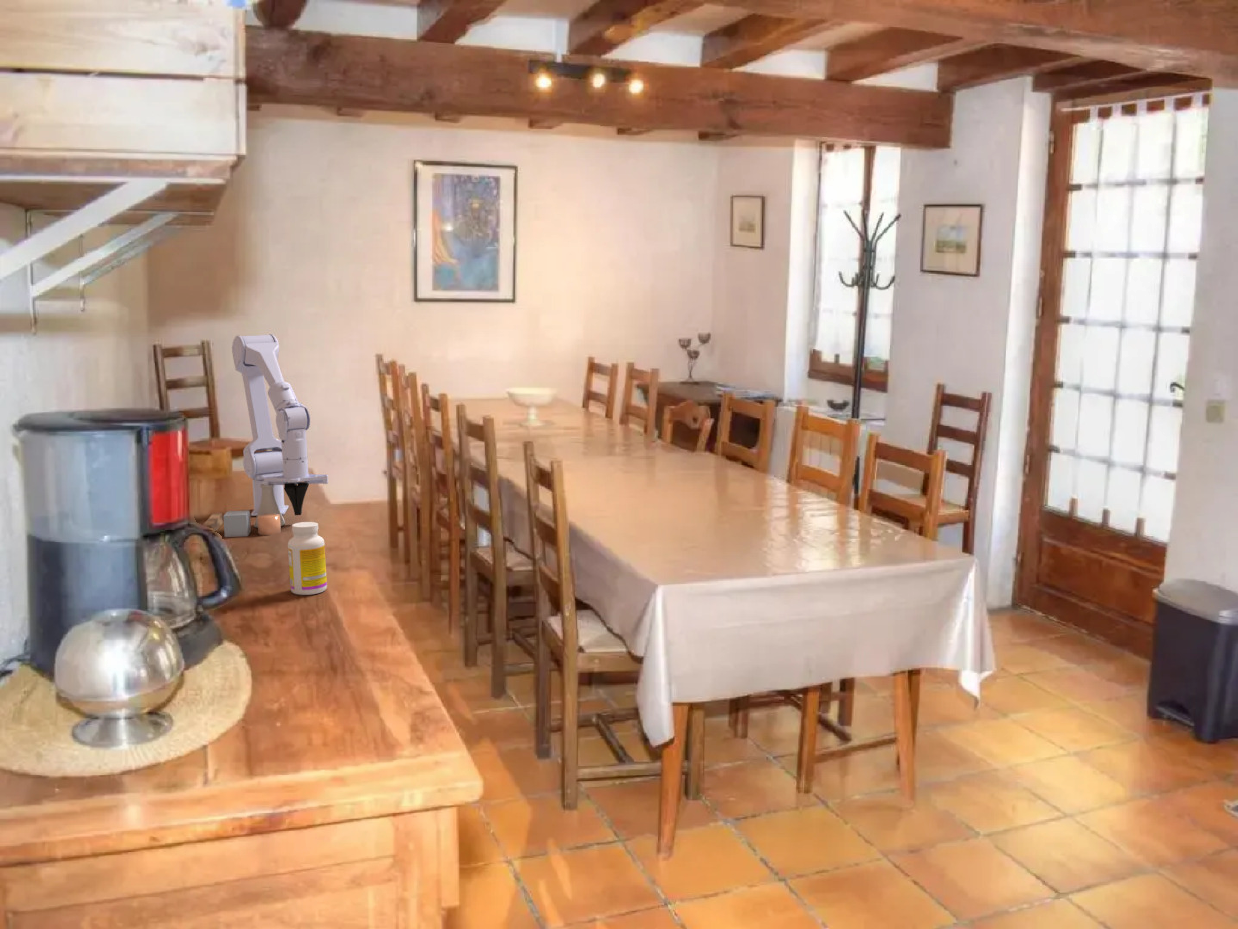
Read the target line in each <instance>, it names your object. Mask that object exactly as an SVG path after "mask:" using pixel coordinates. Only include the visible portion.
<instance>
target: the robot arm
mask: <svg viewBox="0 0 1238 929" xmlns="http://www.w3.org/2000/svg"><path fill="white" fill-rule="evenodd" d="M231 352H232V353H231V354H232V359H233V364H234V368H235V371H236V372H238V373H240V374H241V376H242V381H243V387H244V392H245V398H246V404H247V410H248V411H247V412H248V416H249V422H250V428H251V435H252V439H251V441H250V442H249V443H248V444H246V445H245V447H244V448H243V462H242V463H243V469H244V472H245V474H246V476H248V477H249V479H251V480H252V482H251V483H252V495H253V497H252V498H253V510H252V511H251V512H250V517H253V516H254V517H255V516H256V517H257V514H258V511H259V507H260V503H261V497H262V488H261V487H260V485H261V484H264V485H273V484H274V487H273V492H274V496H275V500H276V503H277V505H278V507H279V510H280V512H281V514H282V516H283V515H285V514H286V512H287V510H288V508H290V507H289V505H287V504H285V494H286V495H287V497H288V499H289V501H290V503H291V506H292V510H293V512H294V515H295V516H302V512H303V511H302V510H303V504H304V500H305V496H306V493H307V491H308V488H309V485H314V484H321V485H322V484H323V485H327V484H328V483H329V474H314V473H312V474H310V473H309V460H308V441H307V440H308V439H307V431H308V430H309V429H310V426H311V415H310V413H309V412H310V411H309V410H308V408H307V406H305V405H304V404H303V403H302V402H299V400H298V398H297V396H296V393H295V391H294V389H293V386H292V385H291V384H290V382H288V381H285V379H284V376H283V374H282V371H281V368H280V364H279V362H278V359H279V353H280V343H279V340H278V337H276V336H275V335H274V334H273V333H270V334H259V335H236V336H235V337H234V338H233V341H232V345H231ZM265 381H266V383H267V384H268V386H269V388H268V389H266V383H265ZM267 395H268V396H267ZM269 399H270V403H271V405H272V407H273V409H274V411H275V413H276V415H275V424H276V428H277V431H278V437H279V439H278V438H276V437H275V436H274V432H273V426H272V419H271V414H270V408H269V401H268V400H269Z"/></svg>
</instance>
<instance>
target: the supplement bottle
mask: <svg viewBox="0 0 1238 929" xmlns="http://www.w3.org/2000/svg"><path fill="white" fill-rule="evenodd" d="M291 532H292V534H293V536H292V537H291V538H290V539H289V540H288V542H287V551H288V552H287V553H288V554H287V556H288V569H289V584H290V591H291V593H293V594H294V595H299V596H312V595H317V594H320V593H322V592H323V593H324V592H325V591H326V590H327V588H328V580H327V566H326V565H327V564H326V561H327V560H326V548H325V546H326V544H325V539H324V538H323V537H322V536H320V535H319V534H318V532H319V523H318V522H314V521H304V522H303V521H301V522H296V523H292V525H291Z"/></svg>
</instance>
